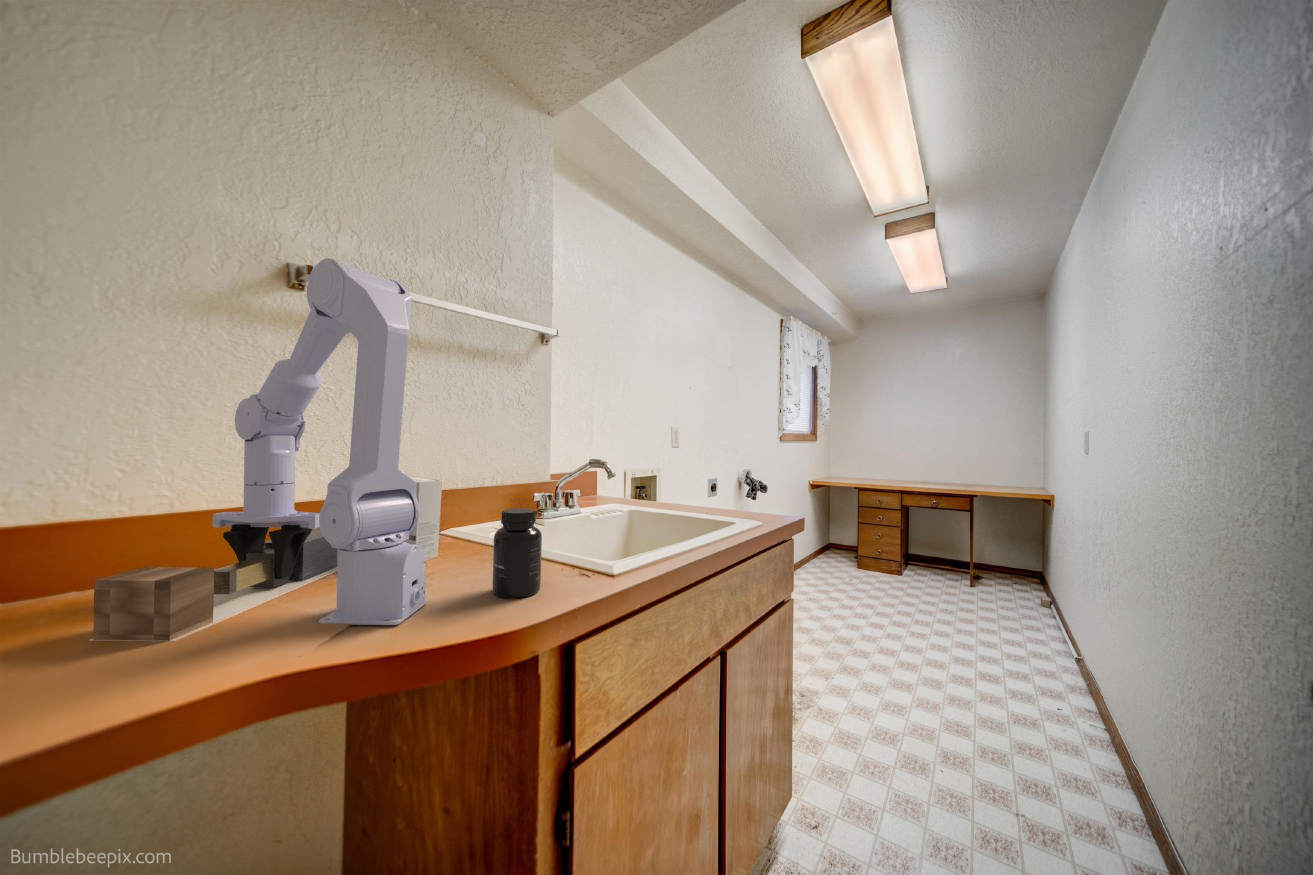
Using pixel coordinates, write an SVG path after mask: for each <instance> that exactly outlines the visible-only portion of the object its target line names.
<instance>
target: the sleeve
mask: <svg viewBox="0 0 1313 875" xmlns="http://www.w3.org/2000/svg"><path fill="white" fill-rule="evenodd" d="M263 548H273V544H272V541H271V539H270V540H267V541H266V540H265V542H264V547H263ZM336 567H337V548H332V547H331V544H329V543H328V542H327V540H326V539H325V538H324V537H323V535H322V533H321V530H320V528H315V529H312V532H311V533H310V534H309V536H308V537H307V539H306V540H305V542H304V544H303V546H302V548H301V550H300V552H299V554H298V557H297V560H296V562H295V570H293V573H292V575H291V576H290V581H305V580H307V579H310V578H312V577H314V576H317V575H319V574H322V573H324V572H326V571H329V570H331V569H334V568H336Z"/></svg>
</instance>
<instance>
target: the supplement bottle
mask: <svg viewBox="0 0 1313 875" xmlns="http://www.w3.org/2000/svg"><path fill="white" fill-rule="evenodd" d="M536 515H537V514H536V510H535V509H533V508H525V507H523V508H522V507H520V508H519V507H518V508H517V507H516V508H515V507H514V508H506V509H504V510H502V511H501V520H500V524H501V525H502V527H501V528H499V529H497V530H496V532H495V533H494V534H493V551H492V552H493V554H492V556H493V557H492V593H493V594H494V595H495V596H496V597H498V598H502V599H508V598H517V599H522V598H521V597H524V598H527V597H526V596H529V597H531V596H530V595H532V596H534V595H536V594H537V593H538V592H539V591H540V589H541V581H542V550H543V549H542V546H543V545H542V544H543V542H542V541H543V535H542V531H541V530H540V529H539V528H538V527H536V526H535V524H536V522H537V519H536ZM535 593H536V594H535ZM533 594H534V595H533Z"/></svg>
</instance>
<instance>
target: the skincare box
mask: <svg viewBox="0 0 1313 875" xmlns="http://www.w3.org/2000/svg"><path fill="white" fill-rule="evenodd" d="M410 477H411V476H410ZM411 478H412V479H413V480H414V481H415V482H416V497H417V501H418V505H419V519H418V522H417V525H416V526H415V528H414V529H413V530H412V531H411V532H409V539H408V540H405V541H404V542H406V543H408V544H413V545H419V546H421V547H422V548H423V550H424V552H425V557H426V561H428V560H429V559H433V558H434V559H435V558H436V557H438V556H439V540H440V525H441V524H440V523H441V510H442V509H441V508H442V493H443V492H442V491H443V490H442V489H443V480H440V479H431V478H425V477H424V478H423V477H413V476H412V477H411Z"/></svg>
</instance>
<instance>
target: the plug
mask: <svg viewBox="0 0 1313 875" xmlns="http://www.w3.org/2000/svg"><path fill="white" fill-rule="evenodd" d="M293 570H295V566H294V569H293ZM288 581H290V576H288V577H286V578H283V579H277V577H276V572H275V553H274V548H262V549H259V550H255V551H252V552H249V553H246V560H245V561H242V562H239V561H238V562H236V563H232V564H229V565H227V566H223V567H219V568H215V569H214V594H228V595H229V594H232V593H235V592H236V591H239V590H241V589H244V588H247V587H276V586H278V585H281V584H283V583H286V582H288Z"/></svg>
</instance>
